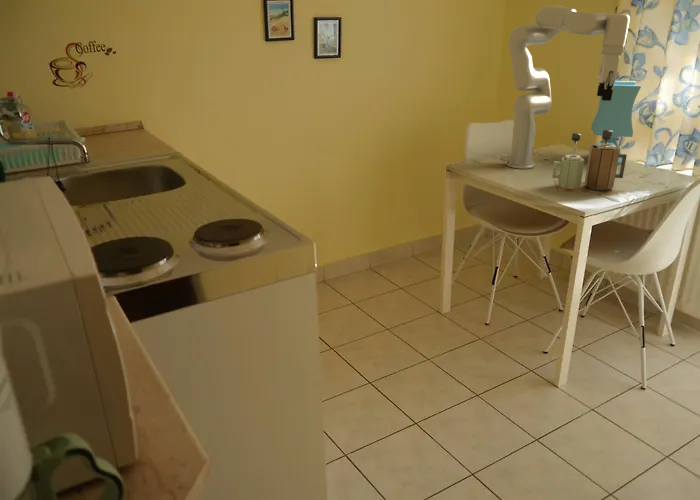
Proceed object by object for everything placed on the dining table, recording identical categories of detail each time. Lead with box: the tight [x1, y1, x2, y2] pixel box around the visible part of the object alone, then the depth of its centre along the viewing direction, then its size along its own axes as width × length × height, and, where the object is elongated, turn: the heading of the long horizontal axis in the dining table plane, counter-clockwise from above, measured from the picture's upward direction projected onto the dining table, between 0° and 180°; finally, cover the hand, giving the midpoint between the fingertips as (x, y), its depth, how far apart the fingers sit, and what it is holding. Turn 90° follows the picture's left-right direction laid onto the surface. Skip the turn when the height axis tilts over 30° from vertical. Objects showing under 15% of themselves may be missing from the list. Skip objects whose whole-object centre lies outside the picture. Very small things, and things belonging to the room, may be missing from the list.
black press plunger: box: [601, 130, 613, 150], centre depth 221 cm, size 6×6×20 cm
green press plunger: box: [571, 132, 582, 157], centre depth 222 cm, size 5×5×13 cm
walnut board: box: [553, 180, 619, 195], centre depth 227 cm, size 22×14×1 cm, turn 79°
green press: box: [551, 154, 585, 189], centre depth 225 cm, size 11×8×12 cm
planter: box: [590, 80, 642, 165], centre depth 262 cm, size 16×16×35 cm
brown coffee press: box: [584, 142, 627, 191], centre depth 222 cm, size 13×10×17 cm
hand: (603, 98), depth 217 cm, fingers open, 9 cm apart
